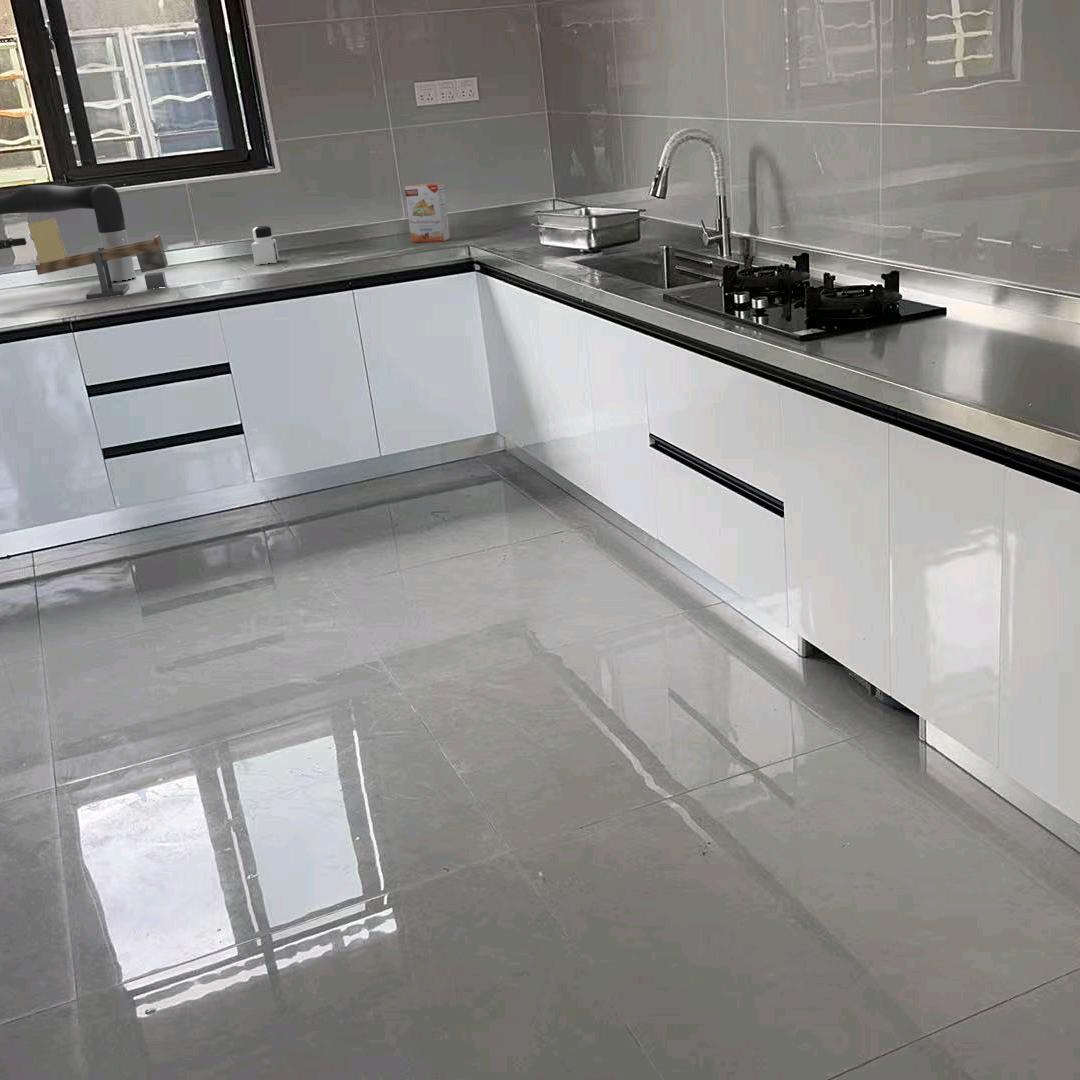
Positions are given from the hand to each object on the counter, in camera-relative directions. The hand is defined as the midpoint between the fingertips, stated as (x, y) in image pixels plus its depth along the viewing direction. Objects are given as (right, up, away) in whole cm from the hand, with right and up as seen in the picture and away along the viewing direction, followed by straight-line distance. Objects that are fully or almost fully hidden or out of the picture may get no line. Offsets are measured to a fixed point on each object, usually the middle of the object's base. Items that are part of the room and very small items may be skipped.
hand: (25, 241), depth 396 cm
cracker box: (+127, +15, +62) cm, 142 cm away
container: (+68, +4, +47) cm, 83 cm away
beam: (+23, -10, +9) cm, 27 cm away
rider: (+8, -6, +4) cm, 11 cm away
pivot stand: (+30, -14, +12) cm, 35 cm away
